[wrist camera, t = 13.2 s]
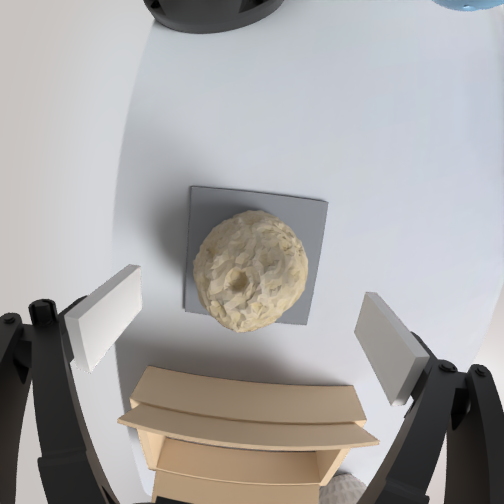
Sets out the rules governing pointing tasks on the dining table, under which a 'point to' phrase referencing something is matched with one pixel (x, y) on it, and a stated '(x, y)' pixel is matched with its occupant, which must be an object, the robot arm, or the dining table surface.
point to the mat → (286, 208)
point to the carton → (243, 437)
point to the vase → (342, 490)
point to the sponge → (250, 270)
